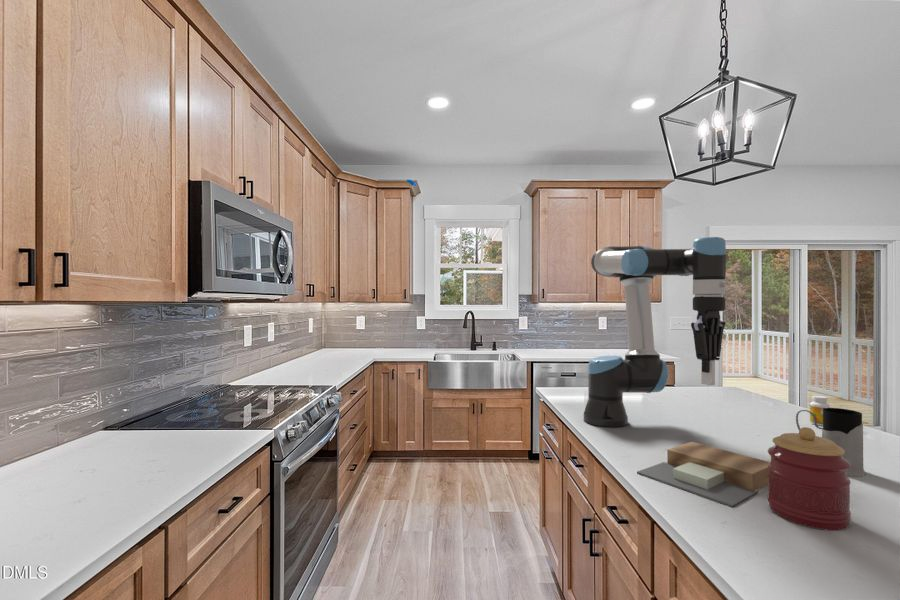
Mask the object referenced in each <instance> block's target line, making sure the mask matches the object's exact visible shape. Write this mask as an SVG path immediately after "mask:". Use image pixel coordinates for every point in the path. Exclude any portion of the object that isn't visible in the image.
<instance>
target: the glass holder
mask: <svg viewBox="0 0 900 600" xmlns="http://www.w3.org/2000/svg"><path fill="white" fill-rule="evenodd" d="M801 412H807V413H808V414H809V415H810V414H811V415H812V416H813V418H814V424H815V425H814V424H813V425H814V426H815V427H816V429H818V430H821V437H822V438H826V439H829V440H831V441H833V442H834V443H835V444H836V445H838V446H840V447H841V448H843V449H844V451H845V453H844V454H843V455H842V456H843V458H845V459H846V460H848V461H849V462H850V464H851V466H850V468H848V469H847V476H848V477H857V478H858V477H865V476H866V475H867V474H866V471H865V469H864V423H863V413H862V412H860V411H857V410H854V409H853V410H852V409H849V408H847V409H846V408H838V407H830V408H823V426H819V425H817V421H816V417H815V415H814V414H813V413H812V412H811V411H810V410H808V409H801V410H799V411H797V413H796V415H795V423H796V427H797V429H798V431H799V430H800V429H801V427H800V423H799V414H800V413H801Z"/></svg>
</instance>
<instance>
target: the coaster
mask: <svg viewBox="0 0 900 600" xmlns="http://www.w3.org/2000/svg"><path fill="white" fill-rule="evenodd" d="M673 478H675V479H678V480H681V481H684V482H687V483H690V484H693V485H696V486H699V487H702V488H705V489H709V488H711V487H713V486H716V485H718V484H720V483H722V482H724V472H722V471H719V470H716V469H712V468H709V467H706V466H702V465H699V464H695V463H692V462H689V463H686V464H683V465H681V466H678V467H676V468H673Z"/></svg>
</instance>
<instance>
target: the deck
mask: <svg viewBox="0 0 900 600" xmlns="http://www.w3.org/2000/svg"><path fill="white" fill-rule="evenodd" d="M666 458H667V463H668V464H672V465H675V466H681V465H683V464H686V463H689V462H692V463H695V464H699V465H702V466H706V467H709V468H712V469H716V470H719V471H722V472H724V481H726V482H729V483H732V484H735V485H738V486H741V487H745V488H748V489H751V490H754V491H757V490H759V489H762V488H763V487H765V486H766V484H767V485H769V484H768V483H769V469H768V464H769V463H770V462H771V461H767V460H764V459H760V458H755V457H752V456H748V455H744V454H740V453H736V452H733V451H729V450H725V449H723V448H722V449H720V448H717V447H713V446H710V445H705V444H702V443H697V442H694V441H689V442H686V443H683V444H679V445H678V446H675V447H674V446H673V447H670V448H668V449H667V457H666Z"/></svg>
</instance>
